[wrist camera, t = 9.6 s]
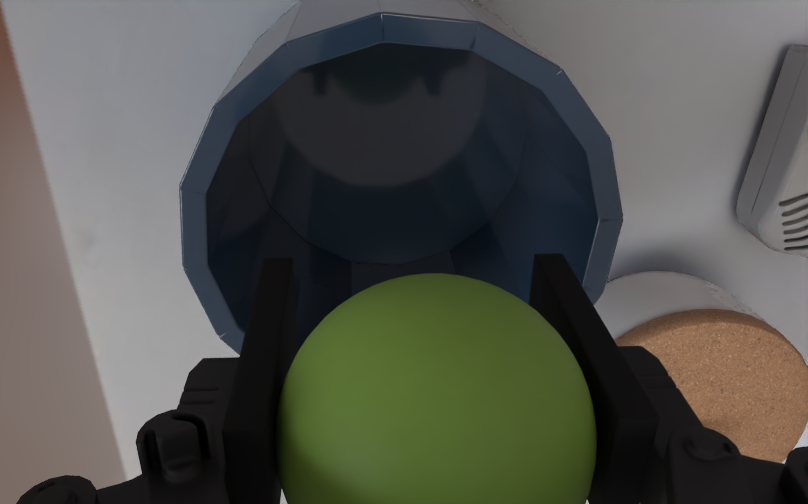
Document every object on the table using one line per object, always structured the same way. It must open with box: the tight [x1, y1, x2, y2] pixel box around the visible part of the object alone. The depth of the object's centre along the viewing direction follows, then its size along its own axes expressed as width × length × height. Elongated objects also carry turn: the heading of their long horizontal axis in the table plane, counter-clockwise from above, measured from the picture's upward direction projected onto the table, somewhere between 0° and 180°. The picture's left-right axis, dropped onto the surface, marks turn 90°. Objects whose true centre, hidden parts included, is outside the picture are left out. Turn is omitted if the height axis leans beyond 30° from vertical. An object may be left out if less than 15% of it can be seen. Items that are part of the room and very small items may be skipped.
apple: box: [275, 273, 597, 504], centre depth 14 cm, size 6×6×8 cm
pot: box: [179, 0, 623, 355], centre depth 26 cm, size 14×14×10 cm
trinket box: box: [594, 271, 808, 504], centre depth 32 cm, size 11×11×9 cm
